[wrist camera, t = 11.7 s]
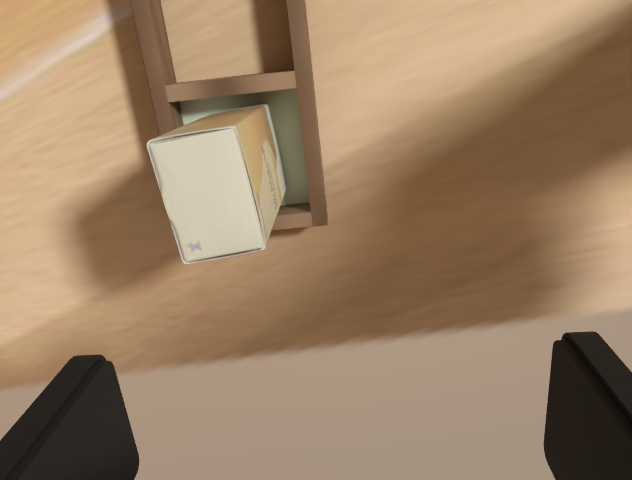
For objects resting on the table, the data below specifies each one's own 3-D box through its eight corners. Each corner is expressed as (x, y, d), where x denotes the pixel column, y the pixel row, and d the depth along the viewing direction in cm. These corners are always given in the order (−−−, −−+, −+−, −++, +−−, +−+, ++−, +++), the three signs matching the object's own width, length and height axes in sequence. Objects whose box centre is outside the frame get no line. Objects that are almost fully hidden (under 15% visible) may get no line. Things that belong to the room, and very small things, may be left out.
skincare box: (288, 189, 36) (270, 256, 24) (228, 201, 36) (183, 272, 25) (267, 97, 33) (237, 122, 22) (204, 110, 34) (141, 141, 22)
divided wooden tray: (295, -94, 30) (292, -106, 27) (327, 213, 36) (327, 224, 34) (129, -72, 30) (113, -82, 28) (190, 226, 37) (181, 238, 35)
